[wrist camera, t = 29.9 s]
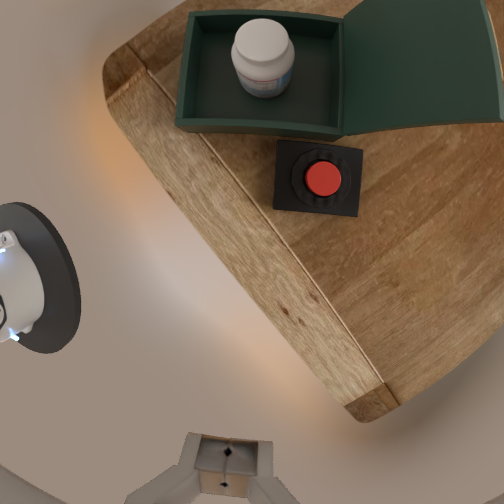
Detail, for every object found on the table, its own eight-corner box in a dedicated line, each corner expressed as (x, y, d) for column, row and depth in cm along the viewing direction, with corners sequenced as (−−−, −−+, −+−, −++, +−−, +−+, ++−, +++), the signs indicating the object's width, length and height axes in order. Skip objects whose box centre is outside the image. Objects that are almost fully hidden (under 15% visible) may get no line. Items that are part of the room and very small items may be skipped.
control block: (272, 207, 36) (272, 211, 32) (277, 141, 34) (278, 137, 30) (352, 214, 36) (362, 219, 32) (358, 150, 34) (368, 148, 30)
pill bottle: (269, 47, 30) (268, 1, 19) (300, 82, 31) (312, 45, 20) (229, 73, 31) (212, 34, 20) (259, 109, 32) (254, 80, 21)
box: (188, 132, 34) (174, 125, 29) (199, 31, 31) (189, 11, 25) (333, 141, 34) (345, 135, 28) (335, 38, 30) (345, 18, 24)
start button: (303, 193, 32) (305, 194, 30) (306, 160, 31) (308, 159, 29) (336, 196, 32) (339, 197, 30) (338, 164, 31) (342, 163, 29)
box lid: (499, 118, 10) (530, 141, 11) (455, -59, 6) (494, -27, 7) (342, 134, 27) (379, 142, 28) (343, 16, 24) (377, 28, 25)
